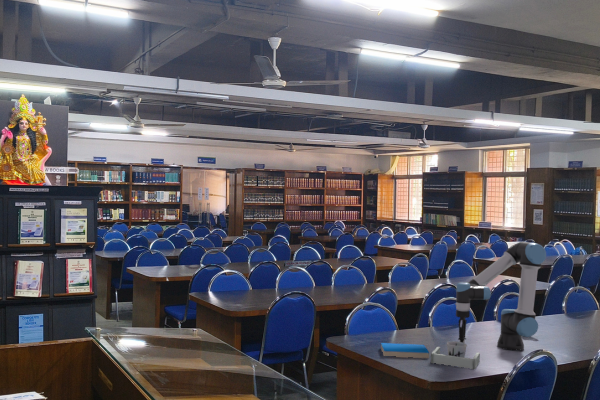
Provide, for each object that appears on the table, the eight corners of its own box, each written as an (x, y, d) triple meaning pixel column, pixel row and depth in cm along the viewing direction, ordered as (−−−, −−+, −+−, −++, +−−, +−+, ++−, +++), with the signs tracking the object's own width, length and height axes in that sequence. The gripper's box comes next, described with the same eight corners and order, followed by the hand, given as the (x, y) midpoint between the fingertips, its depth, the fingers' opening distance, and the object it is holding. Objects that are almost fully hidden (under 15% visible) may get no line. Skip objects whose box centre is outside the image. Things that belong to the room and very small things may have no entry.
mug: (445, 363, 297) (445, 344, 297) (447, 356, 311) (448, 338, 311) (465, 365, 293) (466, 347, 293) (467, 358, 307) (467, 340, 307)
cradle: (479, 361, 302) (479, 352, 302) (475, 369, 287) (475, 359, 287) (437, 355, 312) (437, 346, 312) (430, 362, 297) (430, 353, 297)
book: (429, 352, 305) (384, 349, 306) (429, 360, 305) (383, 357, 306) (423, 344, 323) (380, 342, 323) (423, 351, 323) (380, 349, 323)
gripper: (457, 307, 325) (457, 347, 324) (454, 311, 313) (453, 352, 313) (471, 308, 321) (470, 349, 321) (468, 312, 310) (467, 354, 309)
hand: (461, 351), depth 317 cm, fingers closed
